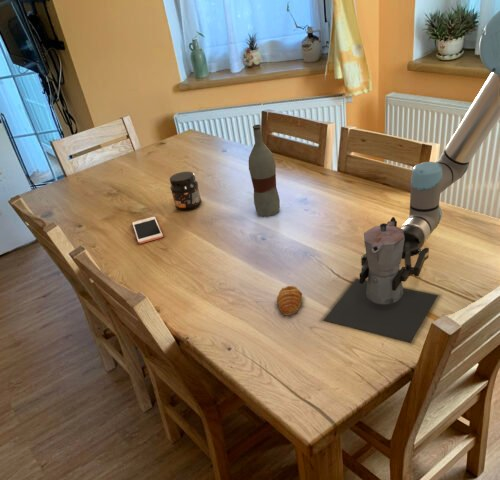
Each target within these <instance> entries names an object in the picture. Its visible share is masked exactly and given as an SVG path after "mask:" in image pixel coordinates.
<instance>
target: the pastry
mask: <svg viewBox="0 0 500 480" xmlns="http://www.w3.org/2000/svg"><path fill="white" fill-rule="evenodd" d="M276 303H277V306H278V309H279V310H280V313H281V314H282V315H284V316H288V315H289V316H290V315H294V314H296V313H297V312H298V310H299V309H300V308H301V306H302V304H303V293H302V291H301V290H300V289H298V288H297V286H294V285H287V286H285V287H282V288H281V289H280V290H279V292H278V295H277V297H276Z"/></svg>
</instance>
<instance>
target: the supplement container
mask: <svg viewBox="0 0 500 480" xmlns="http://www.w3.org/2000/svg"><path fill="white" fill-rule="evenodd" d="M195 174H196V173H194V172H192V171H181V172H177V173H174V174H172V175H171V176H170V177H169V183H170V188H169V189H170V191H171V194H172V198H173V203H174V207H175V209H176V210H178V211H180V212H190V211H193V210H196V209H198V208H200V206H202V205H201V204H202V198H201V192H200V189H199V183H198V180H197V179H196V175H195Z"/></svg>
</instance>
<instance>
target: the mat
mask: <svg viewBox="0 0 500 480" xmlns="http://www.w3.org/2000/svg"><path fill="white" fill-rule="evenodd" d="M367 283H368V280H365V281H364V283H363V284H360V278H359V279H358V278H355V280H354V281H353V282H352V284H351V285H350V286H349V287H348V289H347V290H346V291H345V292H344V293H343V294H342V296H341V297H340V299H339V300H338V301H337V302H336V304H335V305H334V306H333V307H332V308H331V310H329V312H328V313H327V314H326V316H325V317H324V318H323V321H324V322H328V323H331V324H335V325H339V326H343V327H347V328H351V329H355V330H358V331H359V330H360V331H363V332H366V333H371V334H374V335H379V336H383V337H386V338H391V339H394V340H399V341H402V342H406V343H410V344H411V343H412V342H413V339H414V338H415V336H416V334H417V332H418V331H419V329H420V327H421V326H422V324H423V322H424V320H425V319H426V317H427V316H428V314H429V312H430V310H431V308H432V306H433V304H434V303H435V302H436V300H437V298H438V297H439V295H438V294H434V293H430V292H424V291H419V290H414V289H409V288H404V287H403V295H402V297H401V299H400V300H398V301H396V302H394V303H392V304H377V303H374V302H372V301H370V300H369V299H368V297H367V295H366V291H367Z"/></svg>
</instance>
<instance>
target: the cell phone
mask: <svg viewBox="0 0 500 480" xmlns="http://www.w3.org/2000/svg"><path fill="white" fill-rule="evenodd" d="M132 227H133V230H134V233H135V237H136V239H137V242H138V244H139V245H140V244H144V243H148V242H151V241H154V240H159V239H162V238H163V237H164V235H163V232H162V229H161V227H160V225H159V222H158V221H157V218H156V216H151V217H147V218H143V219H139V220H136V221H133V222H132Z"/></svg>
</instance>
